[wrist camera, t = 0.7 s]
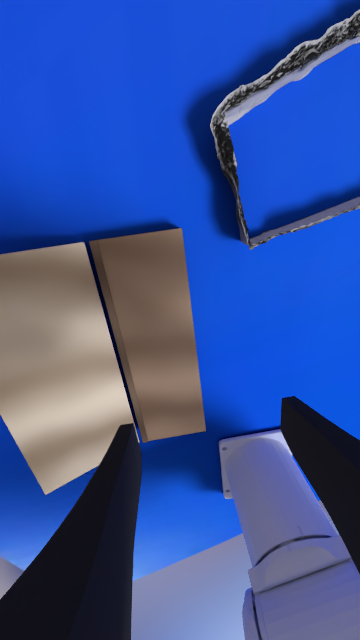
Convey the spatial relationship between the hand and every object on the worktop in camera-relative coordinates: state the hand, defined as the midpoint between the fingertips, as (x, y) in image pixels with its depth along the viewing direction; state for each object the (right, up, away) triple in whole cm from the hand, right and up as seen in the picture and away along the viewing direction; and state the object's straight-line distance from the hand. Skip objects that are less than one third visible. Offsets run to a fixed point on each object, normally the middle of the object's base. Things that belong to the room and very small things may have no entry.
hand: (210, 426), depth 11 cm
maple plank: (-11, +1, +7) cm, 13 cm away
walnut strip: (-3, +3, +9) cm, 10 cm away
